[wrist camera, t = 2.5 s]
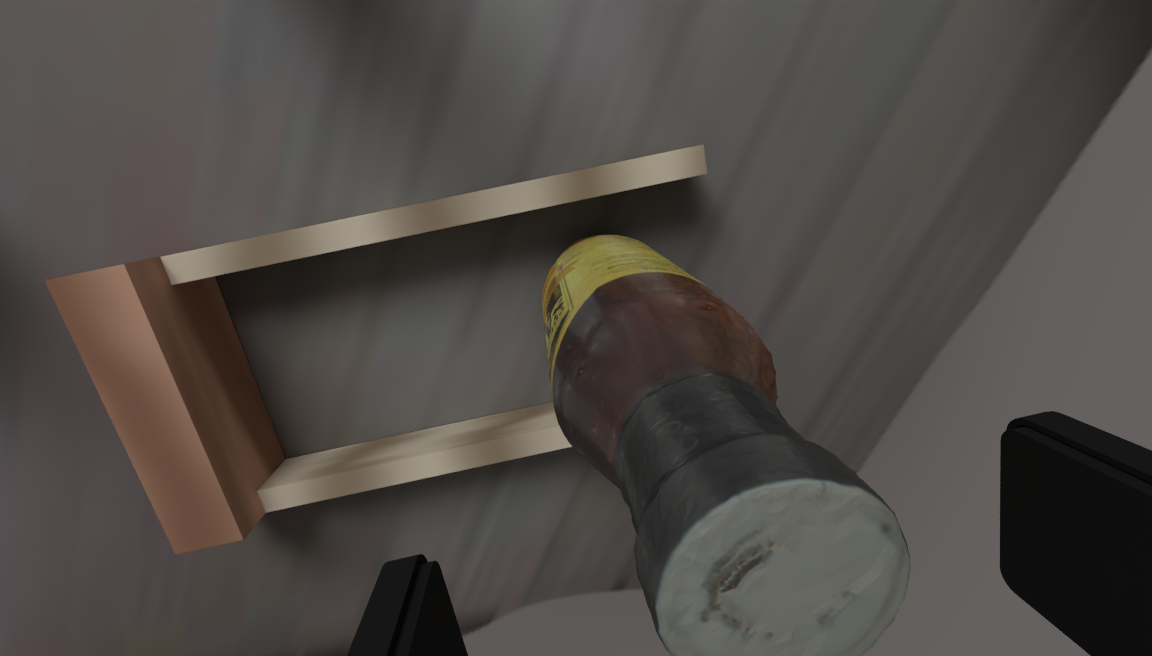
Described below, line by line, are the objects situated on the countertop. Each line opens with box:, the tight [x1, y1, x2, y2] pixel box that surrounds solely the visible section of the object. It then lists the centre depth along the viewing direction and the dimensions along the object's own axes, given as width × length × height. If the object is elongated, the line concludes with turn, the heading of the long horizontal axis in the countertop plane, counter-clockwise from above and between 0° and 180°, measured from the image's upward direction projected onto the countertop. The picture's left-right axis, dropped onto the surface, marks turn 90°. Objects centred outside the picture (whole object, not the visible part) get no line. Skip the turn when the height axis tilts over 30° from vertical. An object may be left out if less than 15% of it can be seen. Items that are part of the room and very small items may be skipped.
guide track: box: [45, 144, 707, 554], centre depth 24 cm, size 26×12×5 cm, turn 101°
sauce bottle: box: [542, 235, 910, 656], centre depth 17 cm, size 7×6×20 cm
